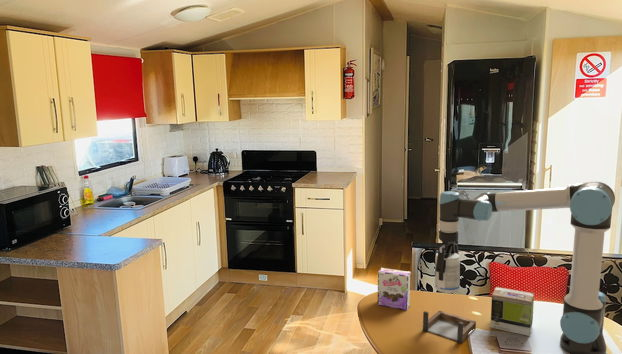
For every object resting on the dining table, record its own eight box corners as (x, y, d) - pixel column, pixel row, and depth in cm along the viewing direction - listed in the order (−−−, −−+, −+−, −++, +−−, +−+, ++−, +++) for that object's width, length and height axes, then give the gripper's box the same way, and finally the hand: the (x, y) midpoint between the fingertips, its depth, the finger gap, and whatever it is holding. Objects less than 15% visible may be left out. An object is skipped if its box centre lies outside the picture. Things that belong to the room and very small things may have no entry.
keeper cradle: (476, 328, 194) (477, 310, 193) (461, 344, 182) (462, 324, 181) (438, 316, 204) (439, 299, 203) (421, 330, 193) (422, 312, 191)
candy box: (377, 305, 216) (377, 271, 213) (380, 300, 221) (380, 267, 218) (407, 310, 211) (408, 275, 208) (409, 305, 216) (410, 271, 213)
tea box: (532, 326, 195) (535, 292, 193) (529, 337, 187) (532, 302, 184) (494, 318, 203) (496, 285, 200) (489, 328, 194) (491, 294, 192)
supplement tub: (464, 290, 192) (465, 255, 189) (448, 296, 187) (449, 260, 184) (445, 282, 200) (446, 249, 197) (429, 288, 195) (430, 254, 192)
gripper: (451, 222, 199) (450, 273, 203) (427, 235, 183) (426, 289, 187) (468, 225, 195) (467, 277, 198) (445, 238, 178) (444, 294, 182)
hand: (447, 283), depth 193 cm, fingers closed on supplement tub, 9 cm apart
